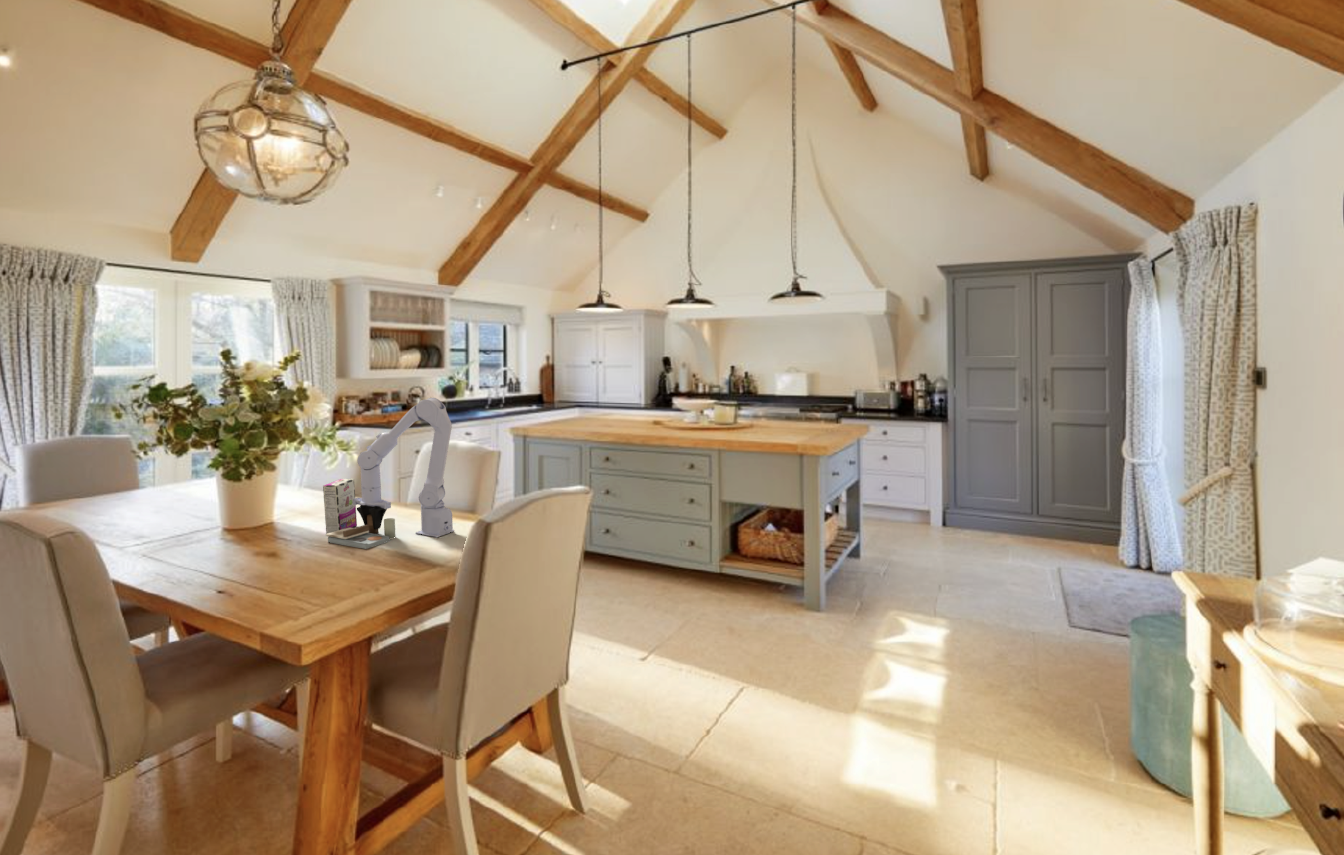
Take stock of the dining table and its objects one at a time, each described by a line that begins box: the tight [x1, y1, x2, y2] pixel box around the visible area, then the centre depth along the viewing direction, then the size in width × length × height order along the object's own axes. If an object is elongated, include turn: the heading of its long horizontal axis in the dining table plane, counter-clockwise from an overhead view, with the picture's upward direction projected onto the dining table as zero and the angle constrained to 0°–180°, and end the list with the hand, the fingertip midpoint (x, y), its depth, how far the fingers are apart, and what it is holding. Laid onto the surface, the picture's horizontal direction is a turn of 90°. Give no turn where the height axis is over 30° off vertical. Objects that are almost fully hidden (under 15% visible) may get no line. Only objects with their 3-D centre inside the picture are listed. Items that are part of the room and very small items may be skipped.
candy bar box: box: [322, 478, 358, 535], centre depth 215 cm, size 11×5×16 cm, turn 179°
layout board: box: [327, 533, 390, 550], centre depth 203 cm, size 16×9×2 cm, turn 67°
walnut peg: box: [367, 514, 379, 534], centre depth 212 cm, size 3×3×6 cm
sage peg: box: [383, 517, 396, 540], centre depth 208 cm, size 3×3×6 cm
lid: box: [325, 524, 369, 539], centre depth 205 cm, size 8×9×2 cm
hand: (372, 528), depth 212 cm, fingers closed on walnut peg, 3 cm apart
